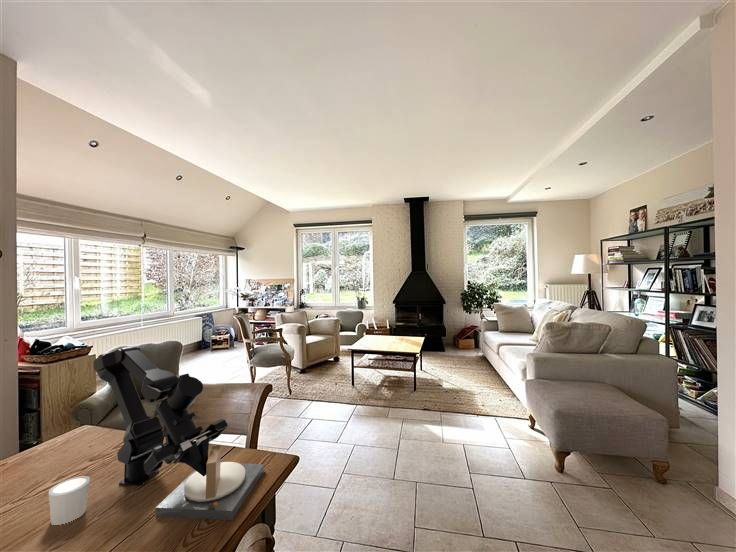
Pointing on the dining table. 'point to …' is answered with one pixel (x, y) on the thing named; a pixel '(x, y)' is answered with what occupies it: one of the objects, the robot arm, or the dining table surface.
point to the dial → (214, 479)
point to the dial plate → (212, 509)
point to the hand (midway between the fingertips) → (206, 474)
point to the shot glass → (68, 500)
